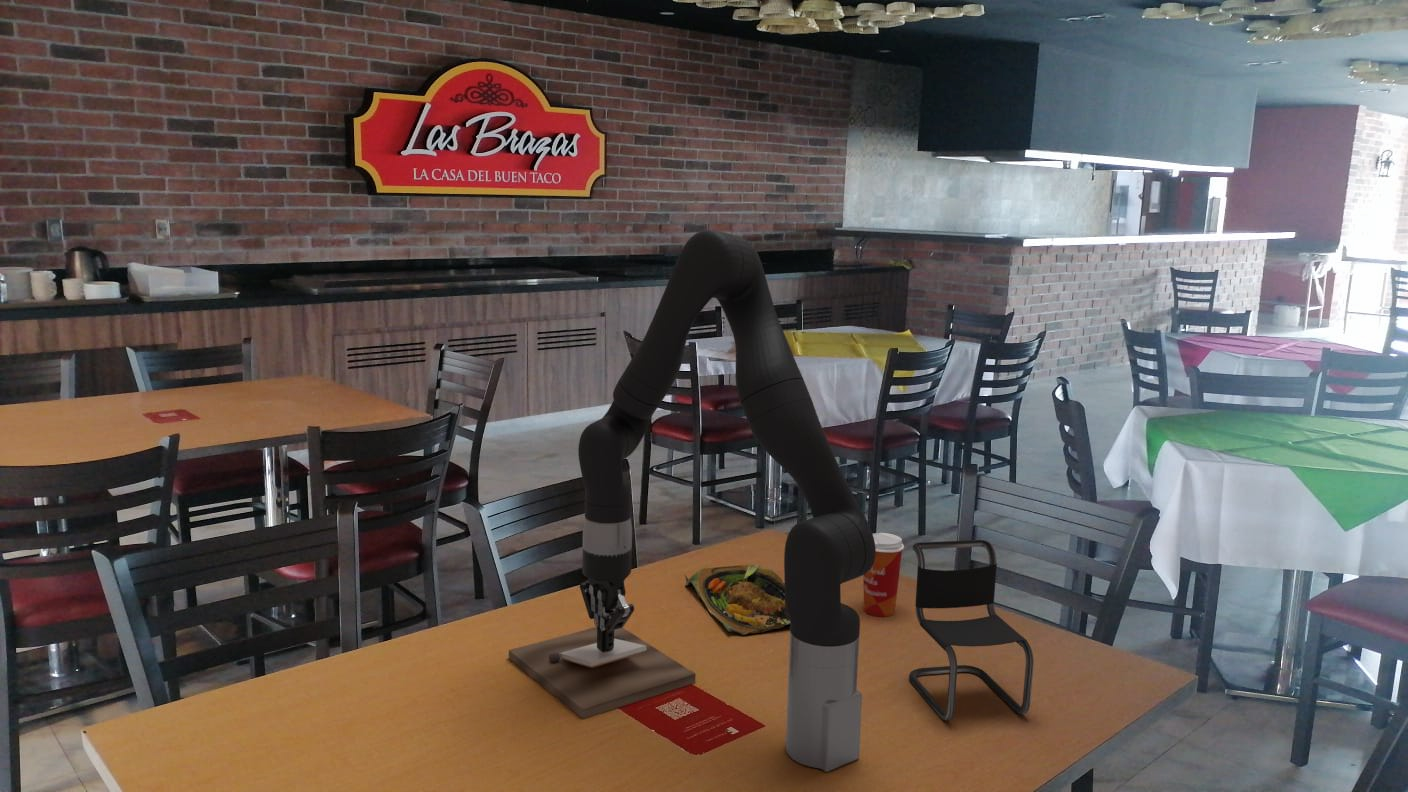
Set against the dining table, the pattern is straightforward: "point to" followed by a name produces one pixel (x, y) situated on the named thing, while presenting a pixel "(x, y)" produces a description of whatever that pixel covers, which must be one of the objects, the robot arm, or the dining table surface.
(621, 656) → the tile
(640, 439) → the robot arm
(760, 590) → the prepared meal
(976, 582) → the chair
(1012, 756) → the dining table surface
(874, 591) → the paper cup
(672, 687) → the walnut board
